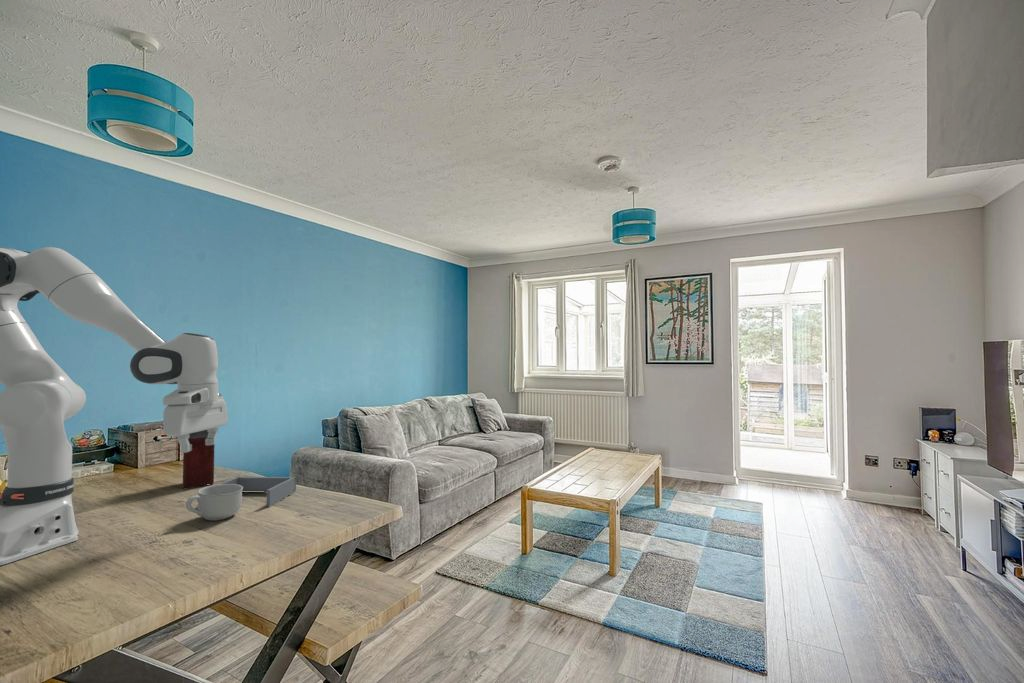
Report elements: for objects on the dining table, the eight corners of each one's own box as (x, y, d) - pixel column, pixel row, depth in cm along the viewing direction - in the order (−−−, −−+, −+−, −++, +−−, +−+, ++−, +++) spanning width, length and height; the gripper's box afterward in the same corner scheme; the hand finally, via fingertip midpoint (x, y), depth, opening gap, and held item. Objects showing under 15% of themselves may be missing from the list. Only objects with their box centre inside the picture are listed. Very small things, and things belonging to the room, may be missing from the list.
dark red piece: (212, 478, 171) (213, 402, 172) (213, 484, 162) (215, 405, 163) (182, 481, 166) (184, 404, 167) (182, 489, 157) (184, 406, 158)
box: (269, 507, 137) (269, 490, 137) (204, 506, 138) (205, 489, 138) (295, 492, 152) (295, 477, 152) (237, 491, 153) (237, 476, 153)
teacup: (233, 508, 136) (234, 480, 137) (248, 516, 129) (249, 487, 130) (177, 521, 125) (178, 491, 126) (190, 530, 119) (191, 499, 119)
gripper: (211, 392, 130) (211, 441, 130) (157, 398, 110) (157, 457, 109) (233, 391, 131) (234, 440, 130) (184, 397, 110) (184, 456, 110)
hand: (198, 448), depth 120 cm, fingers open, 8 cm apart
